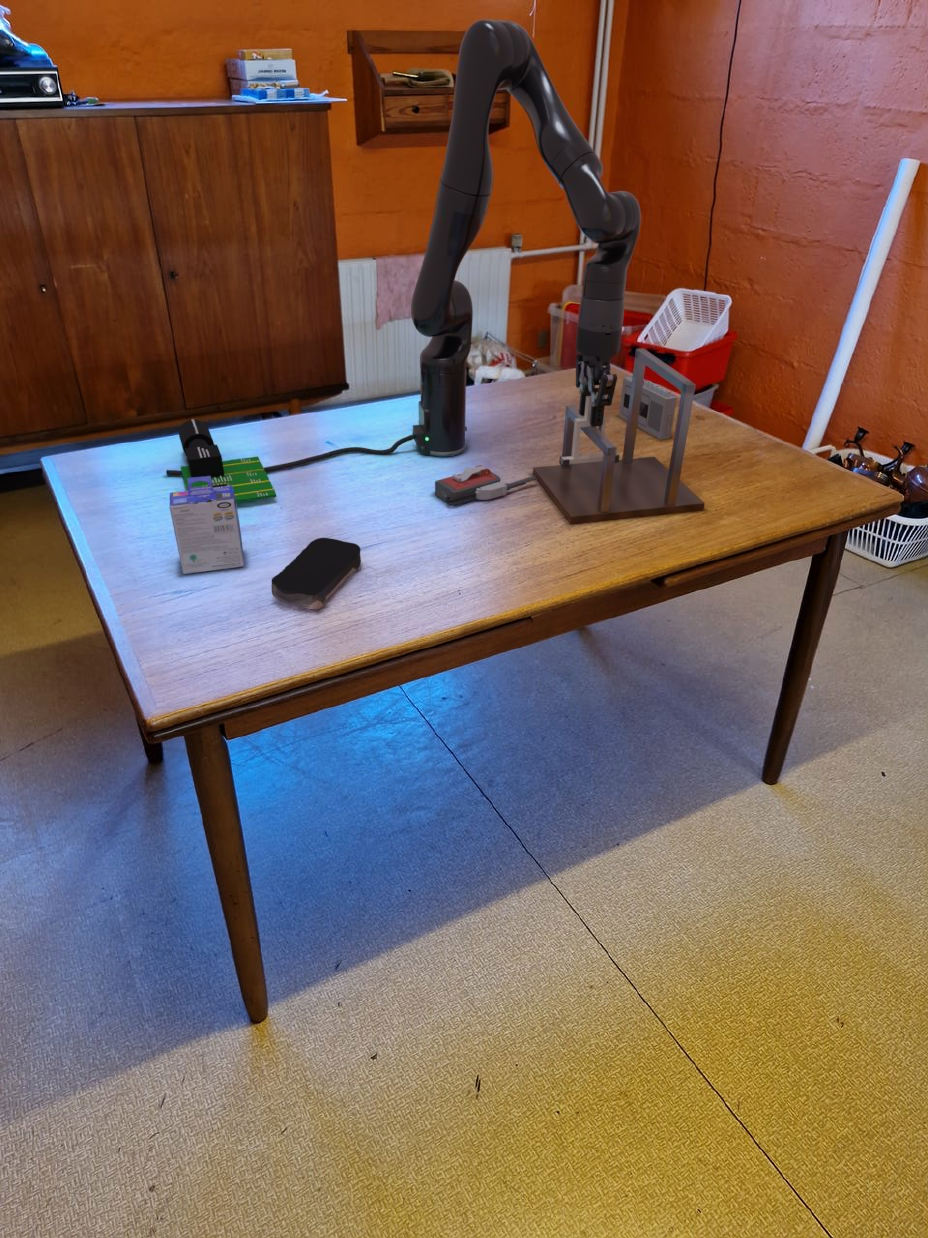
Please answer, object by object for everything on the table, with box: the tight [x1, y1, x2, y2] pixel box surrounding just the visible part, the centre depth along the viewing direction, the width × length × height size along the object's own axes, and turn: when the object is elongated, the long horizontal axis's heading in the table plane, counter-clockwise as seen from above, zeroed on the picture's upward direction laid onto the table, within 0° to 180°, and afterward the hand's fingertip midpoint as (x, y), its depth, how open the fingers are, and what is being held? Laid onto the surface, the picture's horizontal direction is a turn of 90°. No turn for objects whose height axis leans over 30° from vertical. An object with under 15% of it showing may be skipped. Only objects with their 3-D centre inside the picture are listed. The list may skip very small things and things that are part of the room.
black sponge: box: [271, 537, 362, 610], centre depth 132 cm, size 16×8×4 cm, turn 160°
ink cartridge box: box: [168, 476, 245, 575], centre depth 134 cm, size 10×6×14 cm, turn 107°
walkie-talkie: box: [434, 464, 537, 506], centre depth 161 cm, size 9×4×20 cm
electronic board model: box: [178, 418, 277, 504], centre depth 164 cm, size 30×7×15 cm
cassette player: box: [618, 375, 678, 441], centre depth 188 cm, size 16×3×10 cm, turn 27°
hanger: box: [559, 396, 620, 468], centre depth 154 cm, size 11×2×13 cm, turn 104°
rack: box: [532, 348, 706, 525], centre depth 156 cm, size 26×22×24 cm
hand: (590, 419), depth 153 cm, fingers open, 5 cm apart
